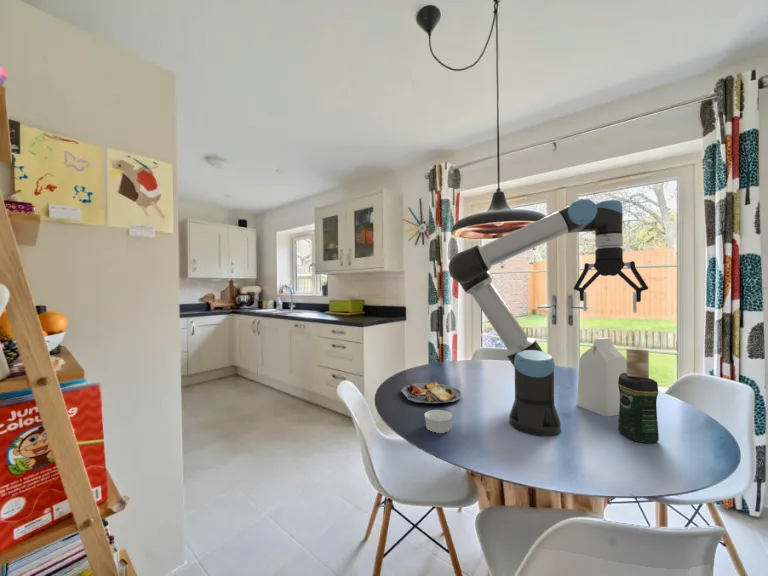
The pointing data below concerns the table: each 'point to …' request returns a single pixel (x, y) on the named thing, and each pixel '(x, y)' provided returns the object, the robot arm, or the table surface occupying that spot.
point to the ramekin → (438, 421)
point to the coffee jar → (638, 408)
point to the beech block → (637, 362)
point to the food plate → (435, 388)
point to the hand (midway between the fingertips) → (609, 311)
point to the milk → (600, 378)
